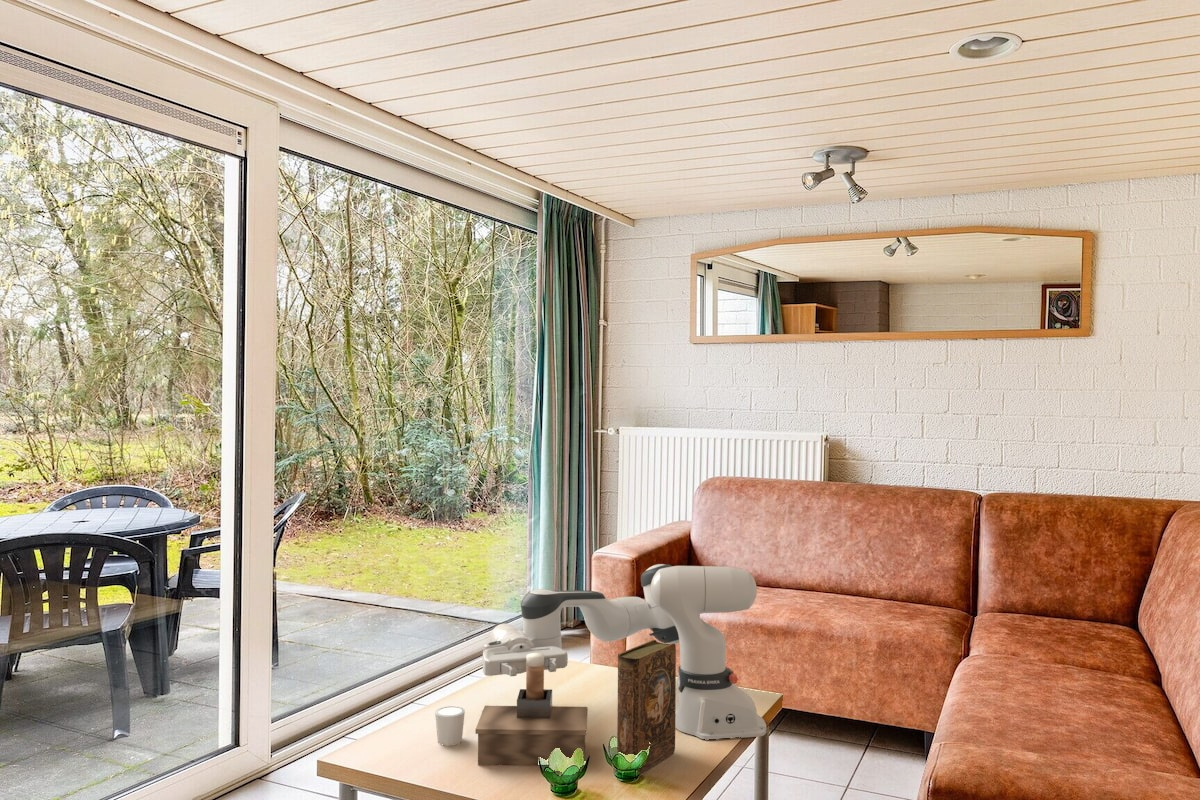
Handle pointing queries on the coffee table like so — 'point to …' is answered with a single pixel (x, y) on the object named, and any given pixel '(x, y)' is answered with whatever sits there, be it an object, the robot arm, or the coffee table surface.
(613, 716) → the coffee table surface
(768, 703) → the coffee table surface
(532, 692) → the white tipped wooden peg
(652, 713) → the book
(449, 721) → the white cup
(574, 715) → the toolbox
